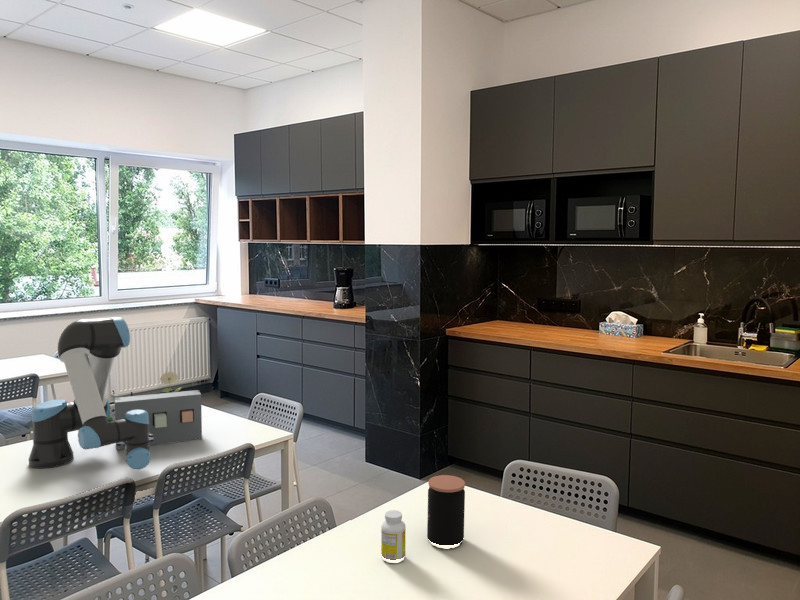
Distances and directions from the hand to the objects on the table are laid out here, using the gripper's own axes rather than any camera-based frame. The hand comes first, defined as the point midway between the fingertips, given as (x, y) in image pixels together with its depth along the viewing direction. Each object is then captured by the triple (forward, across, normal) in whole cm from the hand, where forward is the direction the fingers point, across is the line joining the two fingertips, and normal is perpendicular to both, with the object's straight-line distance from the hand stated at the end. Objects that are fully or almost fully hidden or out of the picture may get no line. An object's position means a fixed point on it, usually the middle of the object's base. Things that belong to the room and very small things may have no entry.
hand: (133, 427), depth 238 cm
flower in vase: (+41, +20, -12) cm, 47 cm away
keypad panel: (+16, +11, -12) cm, 22 cm away
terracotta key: (+13, +22, -3) cm, 26 cm away
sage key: (+10, +11, -3) cm, 15 cm away
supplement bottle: (-114, +60, -11) cm, 130 cm away
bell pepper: (+34, -11, -12) cm, 37 cm away
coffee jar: (-112, +78, -11) cm, 137 cm away
